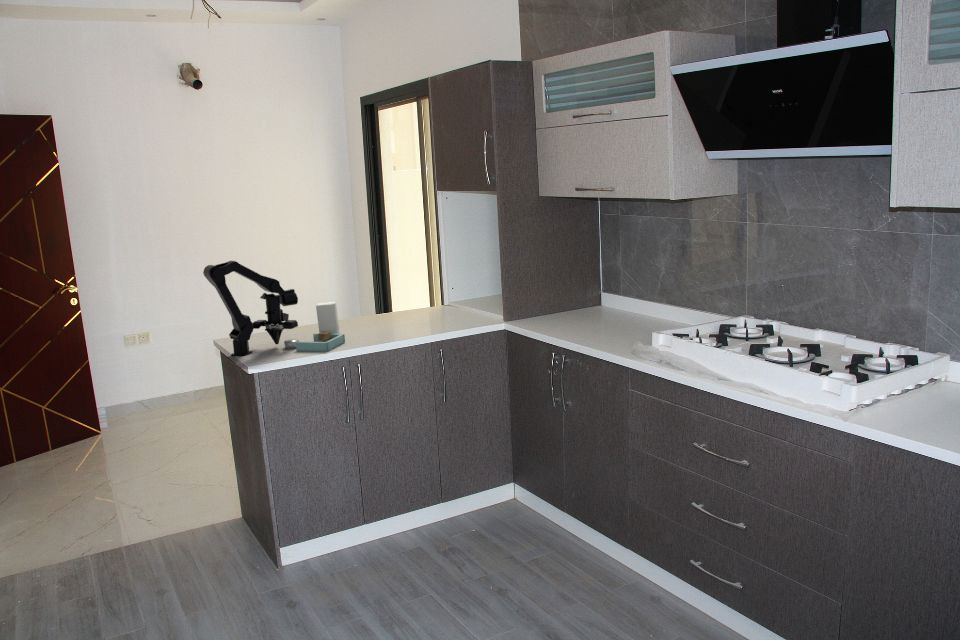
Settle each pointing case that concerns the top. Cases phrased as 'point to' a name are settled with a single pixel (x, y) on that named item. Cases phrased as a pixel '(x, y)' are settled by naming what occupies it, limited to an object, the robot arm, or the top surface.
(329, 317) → the skincare box
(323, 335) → the walnut block
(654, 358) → the top surface
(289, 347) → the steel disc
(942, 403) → the top surface
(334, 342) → the parts bay
